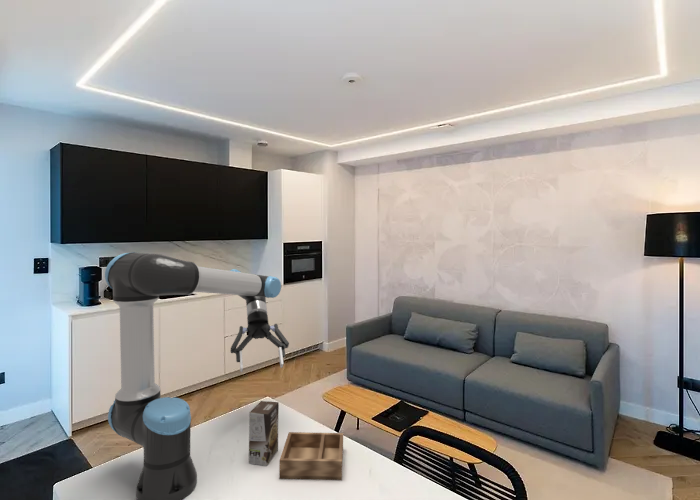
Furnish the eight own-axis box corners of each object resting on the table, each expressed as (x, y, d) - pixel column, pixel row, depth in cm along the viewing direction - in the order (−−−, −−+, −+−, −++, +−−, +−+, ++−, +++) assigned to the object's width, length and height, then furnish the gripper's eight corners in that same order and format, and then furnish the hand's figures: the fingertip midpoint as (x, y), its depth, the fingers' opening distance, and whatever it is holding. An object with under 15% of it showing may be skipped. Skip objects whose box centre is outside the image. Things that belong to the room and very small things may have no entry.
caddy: (279, 478, 110) (279, 460, 110) (288, 448, 126) (288, 432, 126) (341, 480, 110) (341, 461, 110) (343, 449, 126) (343, 433, 126)
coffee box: (267, 466, 116) (268, 414, 116) (248, 463, 118) (248, 412, 117) (279, 450, 125) (279, 401, 125) (260, 447, 127) (261, 399, 126)
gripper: (288, 318, 151) (296, 368, 138) (222, 323, 143) (223, 377, 130) (291, 308, 146) (299, 358, 133) (222, 312, 138) (224, 366, 124)
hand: (262, 368), depth 131 cm, fingers open, 13 cm apart
